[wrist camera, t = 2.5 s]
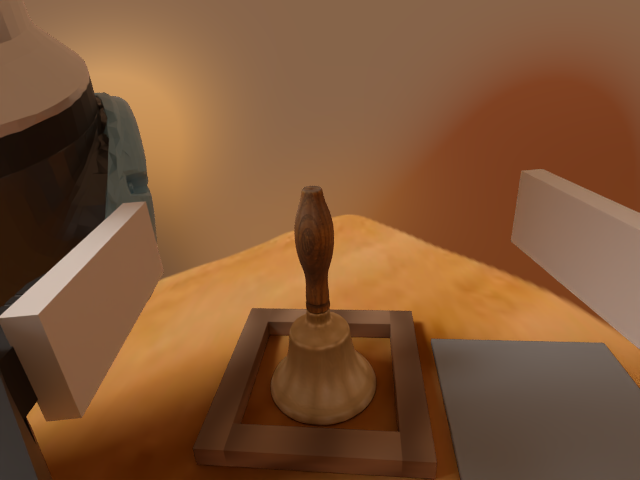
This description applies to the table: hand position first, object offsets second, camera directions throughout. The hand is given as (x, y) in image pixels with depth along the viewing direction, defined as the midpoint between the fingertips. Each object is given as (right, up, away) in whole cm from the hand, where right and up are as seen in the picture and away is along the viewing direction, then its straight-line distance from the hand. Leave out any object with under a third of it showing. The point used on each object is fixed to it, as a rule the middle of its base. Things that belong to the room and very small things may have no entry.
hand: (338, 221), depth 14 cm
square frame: (0, -12, +18) cm, 21 cm away
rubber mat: (+15, -13, +14) cm, 24 cm away
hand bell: (0, -12, +18) cm, 22 cm away
